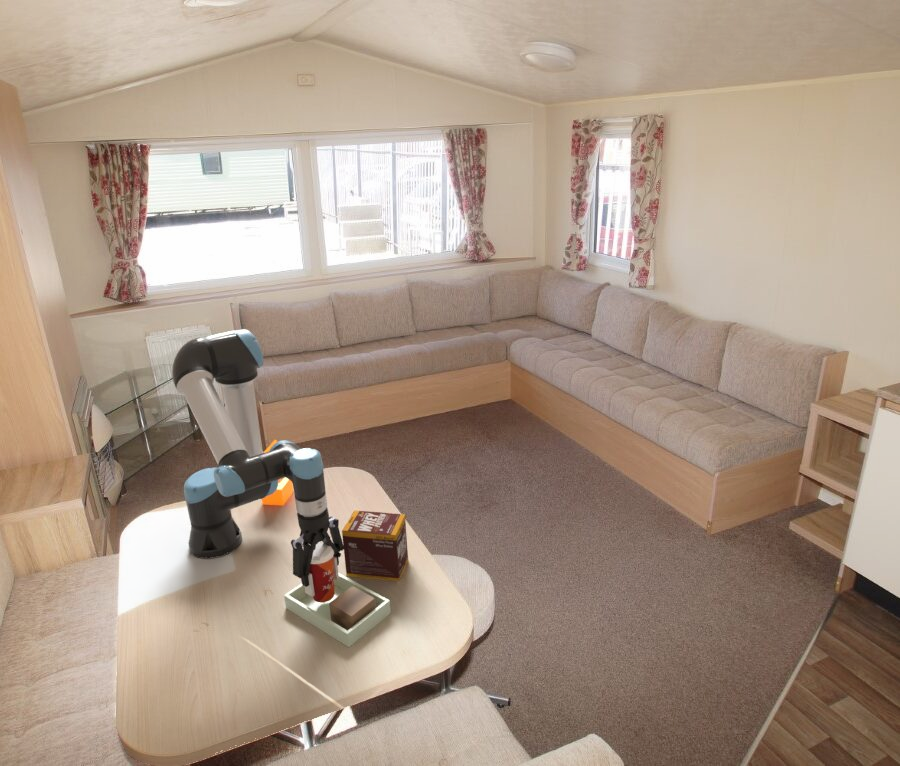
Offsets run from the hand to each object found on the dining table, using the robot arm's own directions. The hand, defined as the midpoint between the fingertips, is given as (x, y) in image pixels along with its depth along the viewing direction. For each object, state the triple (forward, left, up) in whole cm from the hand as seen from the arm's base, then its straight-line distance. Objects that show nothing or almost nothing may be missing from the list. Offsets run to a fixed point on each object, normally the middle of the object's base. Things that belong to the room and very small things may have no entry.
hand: (322, 585), depth 171 cm
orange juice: (-54, +27, -6) cm, 61 cm away
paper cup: (0, 0, -3) cm, 3 cm away
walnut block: (+11, 0, -6) cm, 12 cm away
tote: (+5, 0, -6) cm, 8 cm away
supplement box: (+1, +19, -6) cm, 20 cm away
